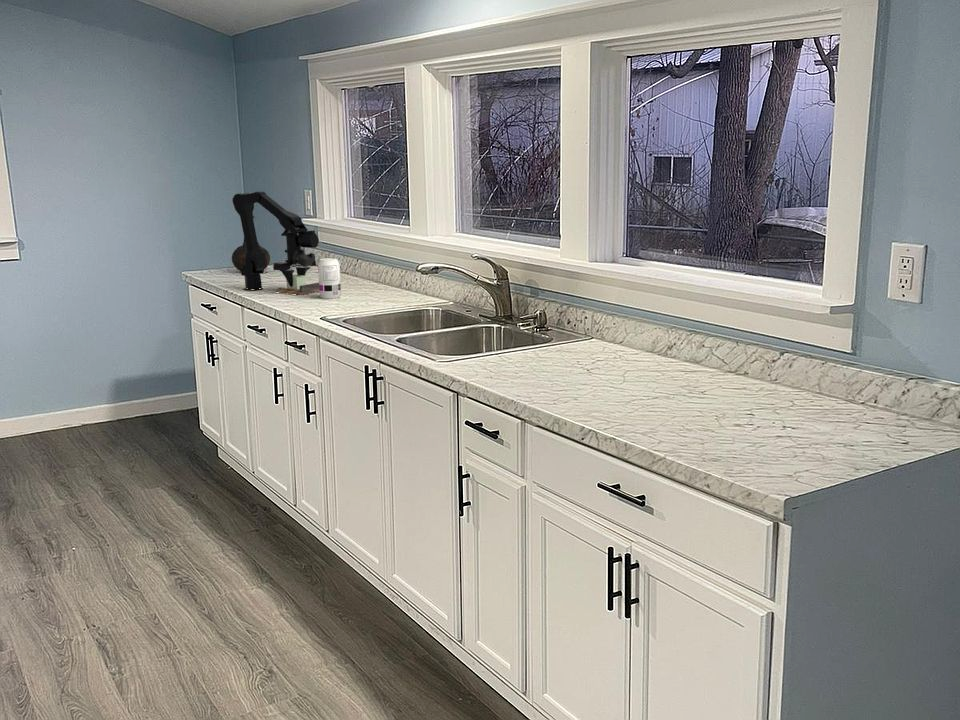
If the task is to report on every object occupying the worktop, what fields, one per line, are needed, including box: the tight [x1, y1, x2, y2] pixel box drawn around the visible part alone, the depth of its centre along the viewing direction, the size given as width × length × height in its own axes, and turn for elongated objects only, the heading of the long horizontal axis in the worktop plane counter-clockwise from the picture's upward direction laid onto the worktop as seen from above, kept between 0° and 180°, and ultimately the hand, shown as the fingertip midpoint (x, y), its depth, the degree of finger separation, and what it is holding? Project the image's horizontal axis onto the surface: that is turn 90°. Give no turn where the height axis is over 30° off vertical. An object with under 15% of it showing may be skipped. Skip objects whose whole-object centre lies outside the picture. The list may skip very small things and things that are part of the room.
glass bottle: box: [231, 213, 271, 271], centre depth 448 cm, size 18×18×28 cm
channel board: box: [275, 282, 320, 296], centre depth 384 cm, size 14×13×4 cm
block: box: [285, 274, 307, 289], centre depth 385 cm, size 6×5×5 cm
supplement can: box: [317, 257, 342, 300], centre depth 368 cm, size 8×8×15 cm
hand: (296, 285), depth 385 cm, fingers closed on block, 5 cm apart
